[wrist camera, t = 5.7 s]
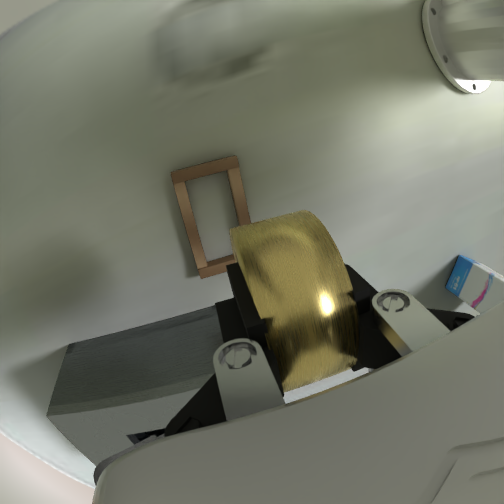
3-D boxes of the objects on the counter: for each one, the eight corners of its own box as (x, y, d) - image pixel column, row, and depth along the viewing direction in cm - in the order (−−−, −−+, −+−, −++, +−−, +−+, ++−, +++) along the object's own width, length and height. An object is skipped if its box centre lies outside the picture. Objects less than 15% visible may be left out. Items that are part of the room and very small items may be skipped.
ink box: (442, 289, 34) (507, 337, 23) (458, 253, 32) (528, 294, 22) (471, 295, 37) (527, 335, 26) (485, 264, 35) (544, 300, 24)
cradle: (170, 172, 21) (170, 173, 21) (234, 155, 22) (236, 156, 21) (199, 273, 25) (200, 278, 24) (256, 257, 26) (259, 261, 25)
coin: (244, 301, 15) (282, 415, 11) (220, 196, 11) (270, 337, 7) (295, 286, 15) (345, 393, 11) (289, 179, 11) (376, 301, 7)
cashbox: (69, 344, 24) (46, 416, 16) (220, 303, 26) (243, 375, 18) (134, 435, 30) (136, 498, 22) (254, 407, 32) (277, 470, 24)
